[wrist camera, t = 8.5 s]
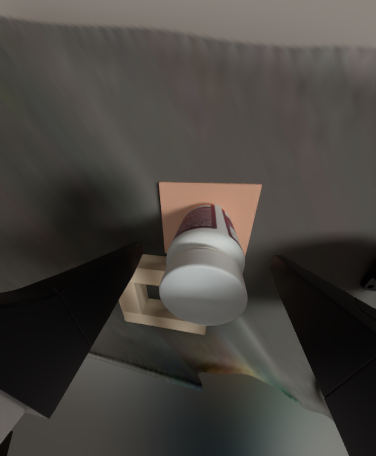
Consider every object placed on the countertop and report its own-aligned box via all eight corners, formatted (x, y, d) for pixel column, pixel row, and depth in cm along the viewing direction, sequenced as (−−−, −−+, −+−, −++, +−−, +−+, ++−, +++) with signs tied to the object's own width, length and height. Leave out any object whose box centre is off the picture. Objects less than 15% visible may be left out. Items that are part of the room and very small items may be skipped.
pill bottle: (177, 234, 14) (141, 310, 7) (193, 193, 12) (165, 238, 5) (218, 251, 15) (225, 342, 7) (240, 212, 12) (284, 287, 5)
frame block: (211, 260, 16) (211, 276, 14) (205, 316, 21) (205, 334, 19) (119, 251, 18) (106, 264, 15) (133, 305, 22) (125, 321, 20)
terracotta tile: (259, 183, 12) (262, 184, 11) (242, 257, 15) (244, 260, 15) (161, 181, 13) (158, 182, 12) (166, 249, 16) (165, 252, 16)
